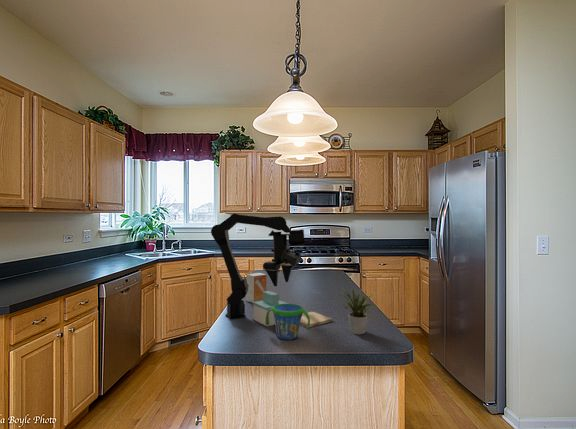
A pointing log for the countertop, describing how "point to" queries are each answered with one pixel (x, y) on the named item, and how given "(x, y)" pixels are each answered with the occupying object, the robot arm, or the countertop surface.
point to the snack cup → (287, 320)
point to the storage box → (263, 316)
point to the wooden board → (314, 319)
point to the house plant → (357, 313)
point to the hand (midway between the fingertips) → (281, 284)
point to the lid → (268, 300)
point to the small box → (256, 286)
